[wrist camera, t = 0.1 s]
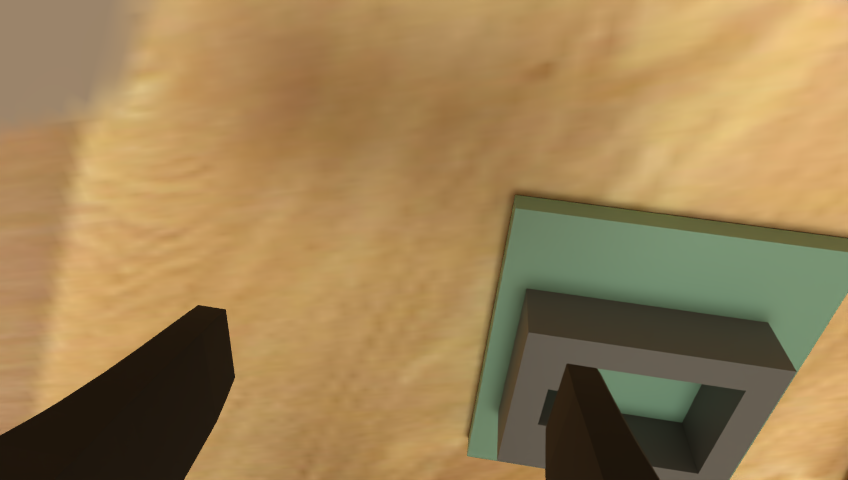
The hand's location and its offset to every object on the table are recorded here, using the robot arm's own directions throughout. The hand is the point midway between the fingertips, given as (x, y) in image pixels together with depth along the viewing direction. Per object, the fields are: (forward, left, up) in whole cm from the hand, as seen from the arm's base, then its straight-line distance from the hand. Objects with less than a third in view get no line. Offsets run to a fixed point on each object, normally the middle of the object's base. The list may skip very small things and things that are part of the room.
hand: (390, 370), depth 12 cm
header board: (-8, -9, -10) cm, 15 cm away
